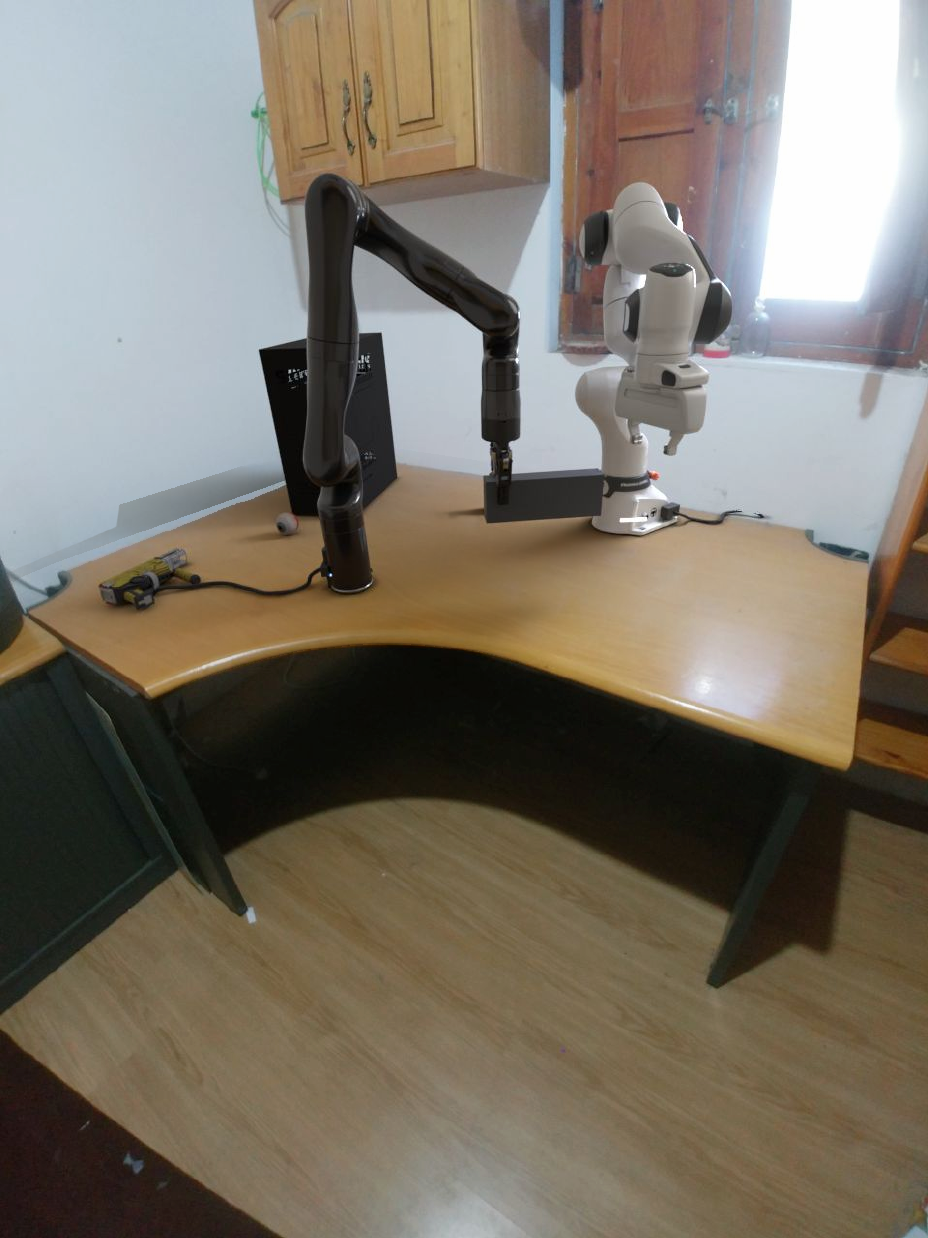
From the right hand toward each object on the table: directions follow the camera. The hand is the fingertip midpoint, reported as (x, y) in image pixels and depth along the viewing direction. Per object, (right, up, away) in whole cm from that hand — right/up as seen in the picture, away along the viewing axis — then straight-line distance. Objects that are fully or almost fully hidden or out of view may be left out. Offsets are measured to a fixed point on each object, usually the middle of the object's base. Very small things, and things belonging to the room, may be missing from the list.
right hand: (652, 449), depth 113 cm
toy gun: (-104, -24, +27) cm, 111 cm away
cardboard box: (-72, +8, +79) cm, 108 cm away
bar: (-19, -10, +12) cm, 25 cm away
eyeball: (-83, -9, +52) cm, 99 cm away
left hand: (-28, -8, +10) cm, 30 cm away
